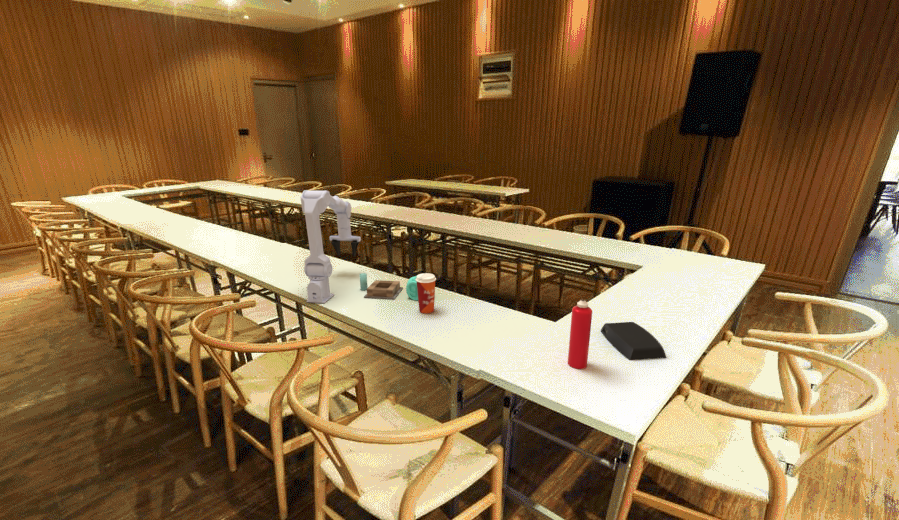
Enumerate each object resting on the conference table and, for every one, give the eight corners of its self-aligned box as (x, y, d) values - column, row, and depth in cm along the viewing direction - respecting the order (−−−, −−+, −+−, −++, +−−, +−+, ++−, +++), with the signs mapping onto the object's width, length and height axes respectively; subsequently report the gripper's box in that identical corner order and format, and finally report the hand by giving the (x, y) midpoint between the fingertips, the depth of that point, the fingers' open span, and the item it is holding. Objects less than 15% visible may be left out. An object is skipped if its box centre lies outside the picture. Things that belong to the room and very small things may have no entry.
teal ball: (432, 295, 175) (432, 277, 173) (423, 302, 168) (422, 283, 166) (415, 292, 178) (415, 274, 176) (406, 299, 171) (405, 280, 169)
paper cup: (427, 316, 155) (427, 280, 151) (412, 311, 159) (411, 276, 155) (441, 309, 161) (440, 275, 157) (425, 304, 165) (424, 271, 161)
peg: (366, 290, 180) (365, 275, 178) (359, 290, 181) (358, 275, 179) (368, 288, 183) (367, 273, 181) (362, 288, 184) (361, 272, 182)
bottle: (565, 365, 121) (570, 301, 116) (571, 357, 126) (576, 295, 120) (583, 371, 119) (590, 305, 113) (589, 362, 123) (595, 299, 117)
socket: (394, 299, 170) (393, 291, 169) (363, 298, 173) (363, 289, 171) (402, 288, 183) (402, 280, 182) (374, 286, 185) (374, 279, 184)
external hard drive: (634, 330, 144) (636, 319, 142) (668, 359, 125) (670, 347, 124) (598, 332, 142) (599, 321, 141) (626, 361, 124) (628, 349, 123)
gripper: (362, 225, 195) (364, 253, 199) (333, 225, 197) (335, 252, 201) (356, 229, 188) (358, 258, 192) (326, 228, 191) (329, 256, 195)
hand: (346, 255), depth 196 cm, fingers open, 7 cm apart
